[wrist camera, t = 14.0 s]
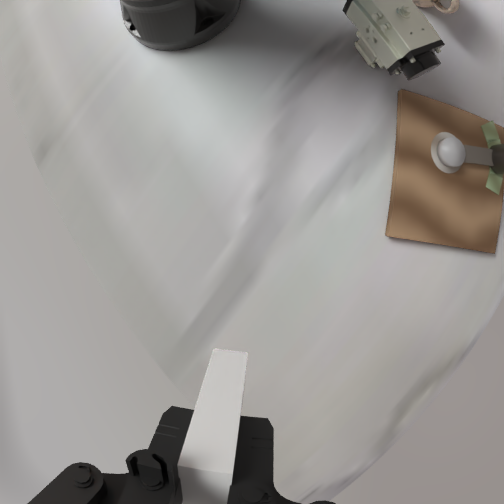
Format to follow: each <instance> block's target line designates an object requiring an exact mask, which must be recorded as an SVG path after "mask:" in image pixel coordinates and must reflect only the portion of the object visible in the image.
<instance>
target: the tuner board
mask: <svg viewBox="0 0 504 504" xmlns="http://www.w3.org/2000/svg"><path fill="white" fill-rule="evenodd" d="M449 137H455V138H457V139H459V140H460V141H461V142H462V144H463V145H470V146H476V147H482V148H488V149H490V147H491V146H493V145H497V144H504V128H503V127H501V126H499V125H497V124H494V122H493V121H488V120H486V119H483V118H481V117H479V116H476V115H474V114H472V113H469V112H467V111H464V110H462V109H459V108H456V107H454V106H451V105H448V104H446V103H443V102H440V101H437V100H434V99H431V98H428V97H425V96H422V95H419V94H416V93H413V92H410V91H406V90H403V89H401V90H400V91H398V108H397V130H396V146H395V159H394V170H393V180H392V189H391V197H390V205H389V212H388V219H387V226H386V233H385V235H387V236H389V237H396V238H402V239H409V240H416V241H422V242H428V243H435V244H441V245H447V246H453V247H459V248H465V249H471V250H477V251H482V252H488V253H494V254H495V250H496V244H497V238H498V232H499V226H500V219H501V211H502V202H503V192H504V174H497V173H495V172H494V171H493V170H492V169H491V167H490V166H486V165H478V164H470V163H463V164H462V165H460V166H457V167H447V166H445V165H443V164H442V163H441V162H440V160H439V159H438V156H437V145H438V143H439V141H440V140H442V139H444V138H449Z"/></svg>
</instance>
